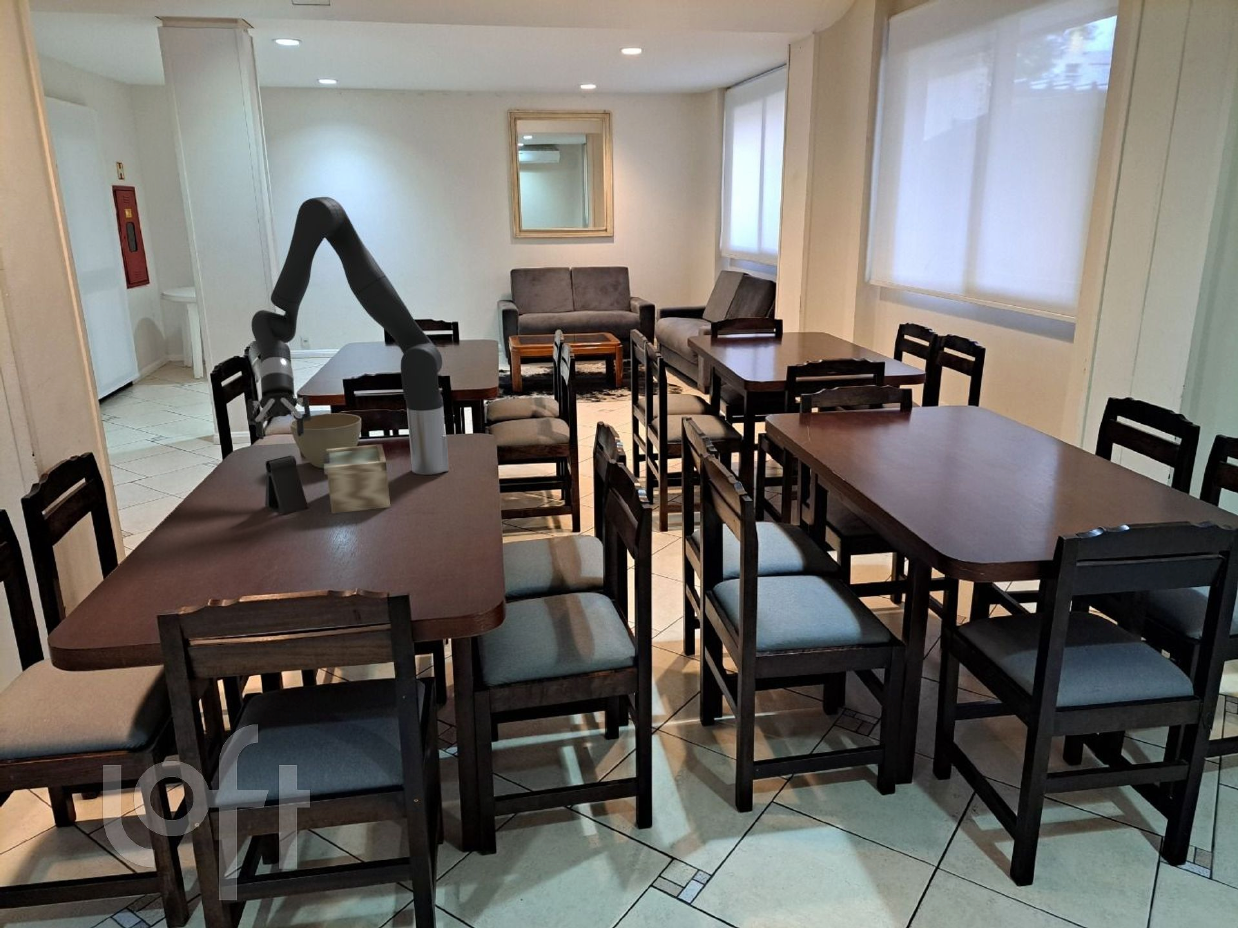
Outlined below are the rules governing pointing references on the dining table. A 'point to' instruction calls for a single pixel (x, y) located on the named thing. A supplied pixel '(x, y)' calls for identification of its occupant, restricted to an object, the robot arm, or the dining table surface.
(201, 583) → the dining table surface
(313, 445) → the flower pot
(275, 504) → the phone stand
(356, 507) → the bread box
